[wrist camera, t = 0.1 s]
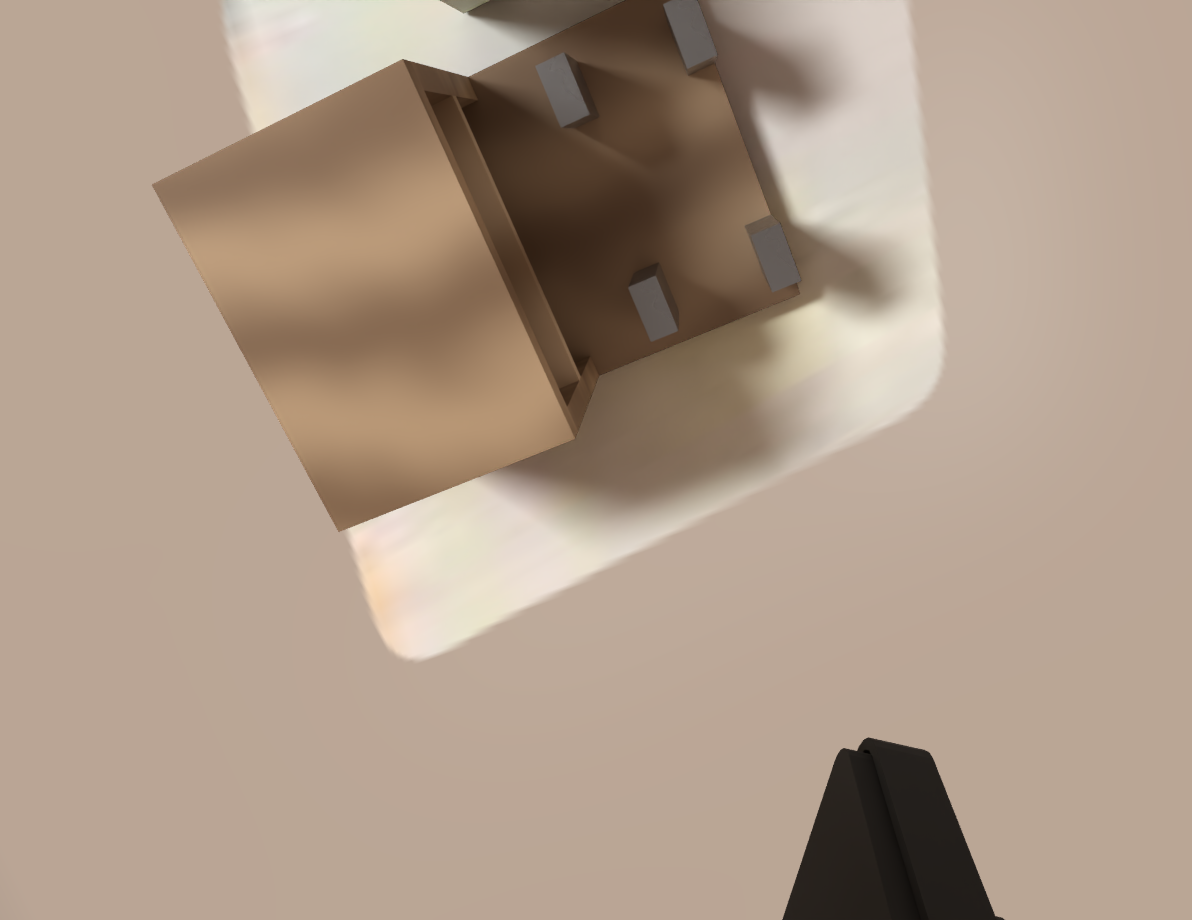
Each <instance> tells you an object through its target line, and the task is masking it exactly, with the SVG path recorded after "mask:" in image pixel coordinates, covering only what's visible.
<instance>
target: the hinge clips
mask: <svg viewBox="0 0 1192 920" xmlns="http://www.w3.org/2000/svg"><path fill="white" fill-rule="evenodd" d="M663 7H664V12H665V17H666V21H667V23H668V26H669V28H670V31H671V34H672V36H673V39H674V42H675V44H676V47H677V49H678V52H679V55H680V57H681V60H682V63H683V65H684V68H685V70H686V73H687V76H689V75H691V74H693V73H695V72H697V71H699V70H702V69H704V68H706V67H708V66H710V65H712V64H715V61H716V58H717V55H718V54H717V51H716V49H715V46H714V43H713V41H712V38H711V35H710V32H709V30H708V27H707V24H706V22H705V19H704V16H703V14H702V11H701V8H700V5H699V3H698V0H671V1H669V2H667V3H665V4H663ZM535 67H536V70H537V72H538V74H539V77H540V79H541V81H542V84H543V86H544V89H545V91H546V93H547V96H548V98H549V101H550V103H551V105H552V108H553V110H554V112H555V115H556V117H557V120H558V122H559V124H560V127H561V128H571V129H575V128H577V127H579V126H581V125H583V124H585V123H588V122H590V121H592V120H594V119H596V118H598V117H600V116H599V114H598V111H597V109H596V107H595V104H594V102H593V99H592V97H591V94H590V92H589V89H588V87H587V84H586V82H585V80H584V77H583V75H582V72H581V70H580V67H579V65H578V62H577V61H576V60H575V59H573V58H572V57H570V56H569V55H567V54H566V53H564V52H563V53H561V54H559V55H557V56H555V57H553V58H551V59H549V60H547V61H545V62H542V63H540V64H538V65H536V66H535ZM745 228H746V231H747V233H748V236H749V239H750V241H751V244H752V247H753V249H754V252H755V254H756V257H757V260H758V262H759V265H760V268H761V270H762V273H763V276H764V278H765V280H766V282H767V283H768V285H769V287H770V289H771V291H772V292H775V291H777V290H780V289H782V288H785V287H787V286H790V285H792V284H794V283H797V282H799V281H801V278H800V275H799V273H798V270H797V267H796V265H795V262H794V259H793V257H792V254H791V251H790V248H789V246H788V243H787V240H786V238H785V235H784V232H783V230H782V227H781V224H780V223H779V222H778V221H777V220H776V219H775V218H774V217H773V216H772V215H768V216H766V217H764V218H761V219H759V220H757V221H754V222H752V223H749V224H747V225H745ZM628 289H629V291H630V293H631V296H632V298H633V301H634V303H635V305H636V308H637V310H638V313H639V315H640V317H641V320H642V322H643V324H644V327H645V329H646V332H647V334H648V336H649V339H650V341H651V342H652V341H655V340H657V339H660V338H662V337H665V336H667V335H670V334H672V333H674V332H677V331H678V329H679V310H678V307H677V305H676V303H675V300H674V298H673V295H672V293H671V290H670V288H669V285H668V283H667V280H666V278H665V276H664V273H663V271H662V268H661V266H660V263H659V262H658V263H655V264H653V265H651V266H648V267H646V268H644V269H641V270H639V271H637V272H634V274H633V276H632V279H631V281H630V284H629V286H628Z"/></svg>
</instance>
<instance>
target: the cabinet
mask: <svg viewBox="0 0 1192 920" xmlns="http://www.w3.org/2000/svg"><path fill="white" fill-rule="evenodd" d="M669 1H671V0H625V1H623V2H621V3H619V4H617V5H615V6H613V7H611V8H609V9H607V10H605V11H603V12H601V13H598V14H596V15H594V16H592V17H590V18H588V19H586V20H584V21H582V22H580V23H578V24H576V25H574V26H572V27H570V28H568V29H566V30H564V31H562V32H560V33H558V34H555V35H553V36H551V37H549V38H547V39H545V40H543V41H541V42H539V43H537V44H535V45H533V46H531V47H529V48H527V49H525V50H523V51H521V52H519V53H517V54H515V55H512V56H510V57H508V58H506V59H504V60H502V61H500V62H498V63H496V64H494V65H492V66H490V67H488V68H486V69H484V70H482V71H480V72H478V73H476V74H474V75H472V76H469V77H466V76H462V75H458V74H455V73H451V72H448V71H444V70H440V69H437V68H433V67H429V66H426V65H422V64H418V63H415V62H411V61H407V60H404V59H402V60H400V61H398V62H396V63H394V64H392V65H390V66H388V67H386V68H384V69H382V70H380V71H378V72H376V73H374V74H372V75H370V76H368V77H366V78H364V79H362V80H360V81H358V82H356V83H354V84H352V85H350V86H348V87H346V88H344V89H342V90H340V91H338V92H336V93H334V94H332V95H330V96H328V97H326V98H324V99H322V100H320V101H318V102H316V103H314V104H312V105H310V106H308V107H306V108H304V109H302V110H300V111H298V112H296V113H294V114H292V115H290V116H288V117H286V118H284V119H282V120H280V121H278V122H276V123H274V124H272V125H270V126H268V127H266V128H264V129H262V130H260V131H258V132H256V133H254V134H252V135H250V136H248V137H246V138H244V139H242V140H241V141H238V142H236V143H234V144H232V145H230V146H228V147H226V148H224V149H222V150H220V151H218V152H216V153H214V154H212V155H210V156H208V157H206V158H204V159H202V160H200V161H199V162H196V163H194V164H192V165H190V166H188V167H186V168H185V169H182V170H180V171H178V172H176V173H174V174H172V175H170V176H168V177H166V178H164V179H162V180H160V181H158V182H156V183H154V184H152V186H153V188H154V190H155V192H156V193H157V195H158V197H159V199H160V201H161V203H162V204H163V206H164V208H165V210H166V212H167V213H168V216H169V218H170V219H171V221H172V223H173V225H174V227H175V229H176V231H177V232H178V234H179V236H180V238H181V239H182V242H183V243H184V245H185V247H186V249H187V251H188V253H189V255H190V257H191V258H192V260H193V262H194V264H195V266H196V268H197V270H198V271H199V273H200V275H201V277H202V279H203V281H204V283H205V284H206V286H207V288H208V290H209V292H210V294H211V296H212V297H213V299H214V301H215V303H216V305H217V307H218V309H219V310H220V312H221V314H222V316H223V318H224V320H225V322H226V323H227V325H228V327H229V329H230V331H231V333H232V334H233V336H234V338H235V340H236V342H237V344H238V346H239V348H240V349H241V351H242V353H243V355H244V357H245V359H246V360H247V362H248V364H249V366H250V368H251V370H252V371H253V374H254V375H255V377H256V379H257V381H258V383H259V385H260V386H261V388H262V390H263V392H264V394H265V396H266V398H267V400H268V402H269V403H270V405H271V407H272V409H273V411H274V413H275V414H276V416H277V418H278V420H279V422H280V424H281V426H282V427H283V429H284V431H285V433H286V435H287V437H288V439H289V441H290V442H291V444H292V446H293V448H294V450H295V452H296V453H297V455H298V457H299V459H300V461H301V462H302V465H303V466H304V468H305V470H306V472H307V474H308V476H309V478H310V480H311V481H312V483H313V485H314V487H315V489H316V491H317V493H318V494H319V496H320V498H321V500H322V502H323V504H324V505H325V507H326V509H327V511H328V513H329V515H330V517H331V519H332V520H333V522H334V524H335V526H336V528H337V530H338V532H340V531H342V530H345V529H348V528H350V527H353V526H355V525H358V524H360V523H363V522H365V521H368V520H370V519H373V518H376V517H378V516H381V515H383V514H386V513H388V512H391V511H393V510H396V509H398V508H401V507H403V506H406V505H409V504H411V503H414V502H416V501H419V500H421V499H424V498H426V497H429V496H431V495H434V494H437V493H439V492H442V491H444V490H447V489H449V488H452V487H454V486H457V485H459V484H462V483H465V482H467V481H470V480H472V479H475V478H477V477H480V476H482V475H485V474H487V473H490V472H493V471H495V470H498V469H500V468H503V467H505V466H508V465H510V464H513V463H515V462H518V461H521V460H523V459H526V458H528V457H531V456H533V455H536V454H538V453H541V452H543V451H546V450H549V449H551V448H554V447H556V446H559V445H561V444H564V443H566V442H569V441H571V440H574V439H575V438H576V435H577V433H578V430H579V427H580V425H581V422H582V419H583V417H584V414H585V412H586V409H587V406H588V404H589V401H590V398H591V396H592V393H593V390H594V388H595V385H596V382H597V380H598V377H599V375H602V374H604V373H607V372H609V371H611V370H614V369H616V368H619V367H621V366H624V365H626V364H629V363H631V362H634V361H636V360H639V359H641V358H644V357H646V356H648V355H651V354H653V353H656V352H658V351H661V350H663V349H666V348H668V347H671V346H673V345H676V344H678V343H681V342H683V341H685V340H688V339H690V338H693V337H695V336H698V335H700V334H703V333H705V332H708V331H710V330H713V329H715V328H718V327H720V326H722V325H725V324H727V323H730V322H732V321H735V320H737V319H740V318H742V317H745V316H747V315H750V314H752V313H755V312H757V311H759V310H762V309H764V308H767V307H769V306H772V305H774V304H777V303H779V302H782V301H784V300H787V299H789V298H792V297H794V296H796V295H799V294H800V291H799V289H798V286H797V283H794V284H792V285H790V286H787V287H785V288H782V289H780V290H777V291H775V292H772V291H771V289H770V287H769V285H768V283H767V282H766V280H765V278H764V276H763V273H762V270H761V268H760V265H759V262H758V260H757V257H756V254H755V252H754V249H753V247H752V244H751V241H750V239H749V236H748V233H747V231H746V228H745V225H747V224H749V223H752V222H754V221H757V220H759V219H761V218H764V217H766V216H768V215H771V214H770V211H769V208H768V205H767V203H766V200H765V197H764V195H763V192H762V189H761V187H760V184H759V181H758V179H757V176H756V173H755V171H754V168H753V165H752V162H751V160H750V157H749V154H748V152H747V149H746V146H745V144H744V141H743V138H742V136H741V133H740V130H739V127H738V125H737V122H736V119H735V117H734V114H733V111H732V109H731V106H730V103H729V101H728V98H727V95H726V93H725V90H724V87H723V84H722V82H721V79H720V76H719V74H718V71H717V68H716V66H715V64H712V65H710V66H708V67H706V68H704V69H702V70H699V71H697V72H695V73H693V74H691V75H689V76H687V73H686V70H685V68H684V65H683V63H682V60H681V57H680V55H679V52H678V49H677V47H676V44H675V42H674V39H673V36H672V34H671V31H670V28H669V26H668V23H667V21H666V17H665V12H664V7H663V4H665V3H667V2H669ZM563 52H564V53H566V54H567V55H569V56H570V57H572V58H573V59H575V60H576V61H577V62H578V65H579V67H580V70H581V72H582V75H583V77H584V80H585V82H586V84H587V87H588V89H589V92H590V94H591V97H592V99H593V102H594V104H595V107H596V109H597V111H598V114H599V116H600V117H598V118H596V119H594V120H592V121H590V122H588V123H585V124H583V125H581V126H579V127H577V128H575V129H571V128H561V127H560V124H559V122H558V120H557V117H556V115H555V112H554V110H553V108H552V105H551V103H550V101H549V98H548V96H547V93H546V91H545V89H544V86H543V84H542V81H541V79H540V77H539V74H538V72H537V70H536V67H535V66H536V65H538V64H540V63H542V62H545V61H547V60H549V59H551V58H553V57H555V56H557V55H559V54H561V53H563ZM658 262H659V263H660V266H661V268H662V271H663V273H664V276H665V278H666V280H667V283H668V285H669V288H670V290H671V293H672V295H673V298H674V300H675V303H676V305H677V307H678V310H679V329H678V331H677V332H674V333H672V334H670V335H667V336H665V337H662V338H660V339H657V340H655V341H652V342H651V341H650V339H649V336H648V334H647V332H646V329H645V327H644V324H643V322H642V320H641V317H640V315H639V313H638V310H637V308H636V305H635V303H634V301H633V298H632V296H631V293H630V291H629V289H628V286H629V284H630V281H631V279H632V276H633V274H634V272H637V271H639V270H641V269H644V268H646V267H648V266H651V265H653V264H655V263H658Z"/></svg>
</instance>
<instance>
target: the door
mask: <svg viewBox="0 0 1192 920" xmlns="http://www.w3.org/2000/svg"><path fill="white" fill-rule="evenodd" d="M440 1H442V2H444V3H446V4H448V5H449V6H451V7H453V8H455V9H457V10H459V11H460V12H462V13H466V12H468V11H470V10H472V9H474V8H476V7H478V6H480V5H482V4H484V3H486V2H488V1H490V0H440Z"/></svg>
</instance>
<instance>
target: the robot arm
mask: <svg viewBox="0 0 1192 920" xmlns="http://www.w3.org/2000/svg"><path fill="white" fill-rule="evenodd" d="M782 920H1004V919H1003V918H1001V917H997V916H995V914H994V912H993V909H992V907H991V904H990V902H989V899H988V897H987V894H986V891H985V889H984V886H983V884H982V882H981V879H980V876H979V874H978V871H977V869H976V866H975V864H974V861H973V859H972V856H971V853H970V851H969V848H968V846H967V843H966V841H965V838H964V836H963V833H962V831H961V828H960V826H959V823H958V821H957V818H956V815H955V813H954V810H953V808H952V805H951V803H950V800H949V798H948V795H947V793H946V790H945V788H944V785H943V782H942V780H941V778H940V775H939V773H938V770H937V767H936V765H935V762H934V760H933V758H932V756H931V755H930V753H929V752H927V751H925V750H922V749H918V748H913V747H908V746H904V745H899V744H895V743H891V742H886V741H882V740H877V739H873V738H866V739H864V740H863V742H862V743H861V745H860V746H859V748H858V750H857V751H854V750H850V749H845V748H843V749H841V750H840V752H839V753H838V755H837V757H836V760H835V762H834V765H833V768H832V771H831V774H830V778H829V780H828V783H827V786H826V789H825V792H824V795H823V799H822V801H821V804H820V807H819V810H818V813H817V816H816V819H815V823H814V825H813V829H812V832H811V835H810V838H809V841H808V844H807V847H806V850H805V853H804V856H803V859H802V862H801V865H800V868H799V871H798V874H797V877H796V880H795V883H794V886H793V889H792V892H791V895H790V898H789V901H788V904H787V907H786V911H785V913H784V917H783V919H782Z"/></svg>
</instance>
